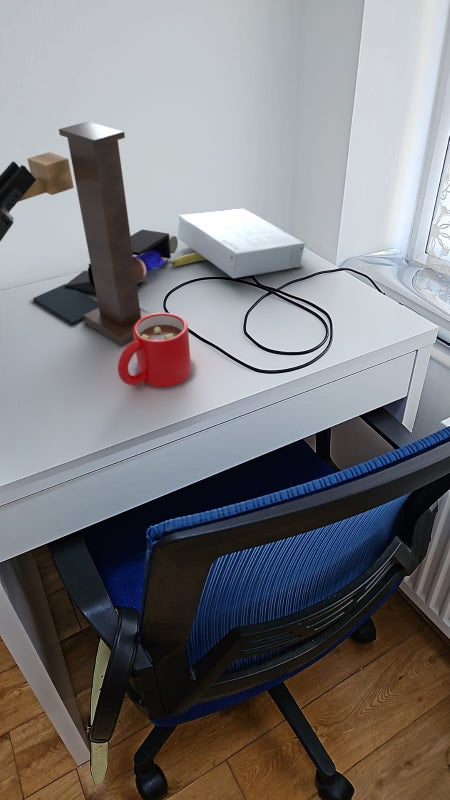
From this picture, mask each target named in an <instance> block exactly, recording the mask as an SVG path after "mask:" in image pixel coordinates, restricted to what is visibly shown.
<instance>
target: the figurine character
mask: <svg viewBox="0 0 450 800" xmlns="http://www.w3.org/2000/svg"><path fill="white" fill-rule="evenodd" d="M130 237H131V244H132V252H133V259H134V267H135V275H136V282H137V283H139V282H143V280H144V279H145V277H146V275H147V273H148V272H149V271H150V272H151V271H153V270H154V269H157V268H161V267H162V266H163V265H165V264H167V263H168V262H169V259H171V258H172V256H171V255H173V254H175V253H176V252H177V249H178V243H179V241H178V240H179V239H178V236H175V235H170V233H167V232H161V231H155V230H148V229H140V230H139V231H137V232H134V233H133V234H132V235H131V234H130Z"/></svg>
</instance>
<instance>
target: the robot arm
mask: <svg viewBox="0 0 450 800" xmlns="http://www.w3.org/2000/svg"><path fill="white" fill-rule="evenodd" d="M35 181H36V179H35V178H34V176H33V175H32V174H31V172H30V170H29V168H27V167H26V166H25V165H23V164H21V165H20V166H19V165H18V164H17V162H16V161H12V162H10V164H8V166H7V167H6V168H5V169H4V170H3V172H2V173H1V174H0V242H1V241H3V239H4V237H5V236H6V234H7V233H8V232H9V230H10V229H11V227H12V226H13V224H14V217H13V216H12V215H11V214H10V212H11V211H12V209H13V208H14V207H15V206H16V205H17V204H18V201H19V200H20V199H21V197H22V196H23V195H24V194H25V193H26V192H27V190H28V189H29V188H30V187H31V186H32V185H33V183H34V182H35ZM19 202H20V201H19Z"/></svg>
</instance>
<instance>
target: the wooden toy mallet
mask: <svg viewBox="0 0 450 800" xmlns="http://www.w3.org/2000/svg"><path fill="white" fill-rule="evenodd" d="M27 163H28V164H27V165H28V169H29V172H30V173H31V174H32V175H33V176H34V178H35V179H36V181H35V182H34V183H33V185H32V186H31V187H30V188H29V189H28V190H27V192H26V193H25V194H24V195H23V196H22V197H21V199H20V200H19V201H18V202H19V203H20V202H22V201H25V200H27V199H28V200H29V199H31V198H34V197H38V196H40V195H44V194H48V195H51V196H55V195H57V194H60V193H64V192H66V191H69V190H71V189H74V188H75V186H74V182H73V176H72V171H71V166H70V161H69V158H67V157H65V156H62V155H59V154H57V153H54V152H50V151H49V152H45V153H42V154H38V155H35V156H31V157H27ZM18 202H17V203H18Z"/></svg>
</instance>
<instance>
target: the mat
mask: <svg viewBox="0 0 450 800" xmlns="http://www.w3.org/2000/svg"><path fill="white" fill-rule="evenodd" d="M66 284H67V283H64V284H62V285H59V286H57V287H55V288H53V289H51V290H50V289H49V291H46V292H43V293H42V294H39V295H36V296H34V297H33V298H32V300H33V302H35V303H37V304H38V305H39V306H41V307H42V308H45V309H46V310H48V311H50V312H51V313H53V314H54V315H55V316H57V317H59V318H60V319H62V320H63V321H66V322H67V323H69V324H70V325H72V326H74V325H76V324H77V323H80V322H81V321H84V317H83V315H85V314H87V313H89V312H91V311H93V310H95V309H97V308H99V306H98V301H97V300H96V299H94V298H92V297H90V296H88V295H86V294H85V293H84V292H82V291H80V290H76V289H71V288H67V287H65V285H66Z"/></svg>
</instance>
